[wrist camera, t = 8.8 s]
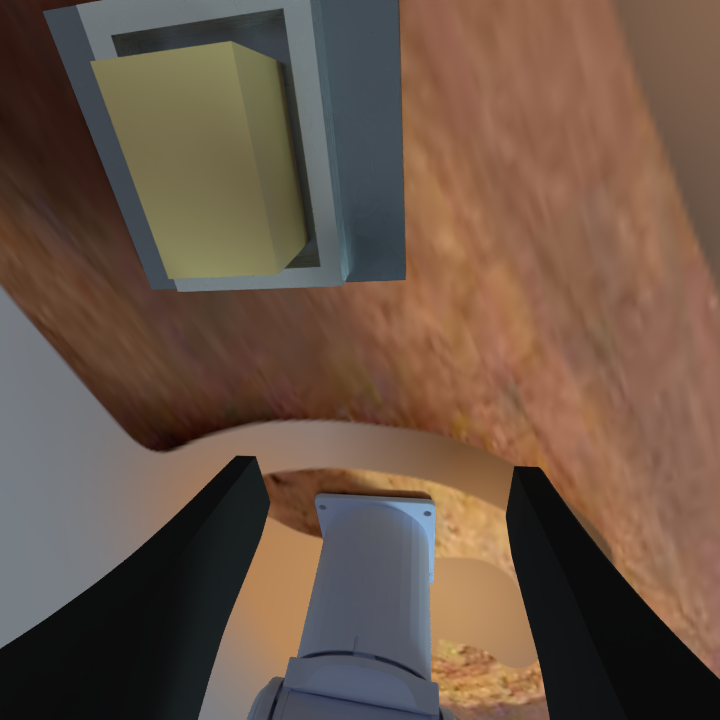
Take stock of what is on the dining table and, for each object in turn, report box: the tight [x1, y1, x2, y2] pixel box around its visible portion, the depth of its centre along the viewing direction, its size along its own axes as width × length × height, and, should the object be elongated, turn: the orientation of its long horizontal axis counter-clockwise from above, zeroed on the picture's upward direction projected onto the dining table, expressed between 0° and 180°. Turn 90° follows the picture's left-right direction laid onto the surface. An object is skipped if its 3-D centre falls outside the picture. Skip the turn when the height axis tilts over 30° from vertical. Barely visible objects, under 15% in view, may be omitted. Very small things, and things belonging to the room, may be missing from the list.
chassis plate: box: [43, 0, 406, 292], centre depth 14 cm, size 10×12×2 cm
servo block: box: [90, 41, 308, 279], centre depth 13 cm, size 6×4×4 cm, turn 5°
